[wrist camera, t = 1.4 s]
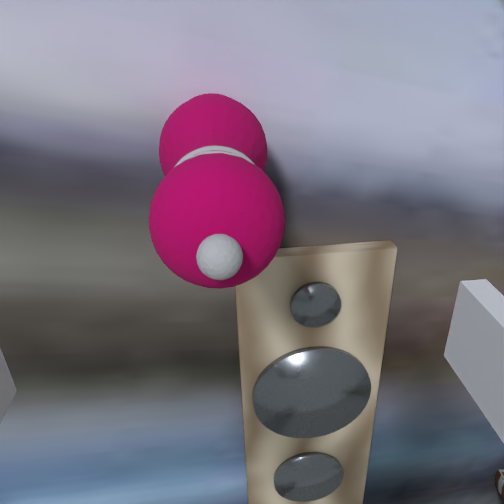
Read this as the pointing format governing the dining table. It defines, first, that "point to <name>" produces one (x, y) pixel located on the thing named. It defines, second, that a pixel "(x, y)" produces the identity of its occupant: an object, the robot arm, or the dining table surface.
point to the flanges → (312, 376)
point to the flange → (308, 476)
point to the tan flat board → (298, 336)
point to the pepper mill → (215, 195)
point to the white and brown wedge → (500, 482)
